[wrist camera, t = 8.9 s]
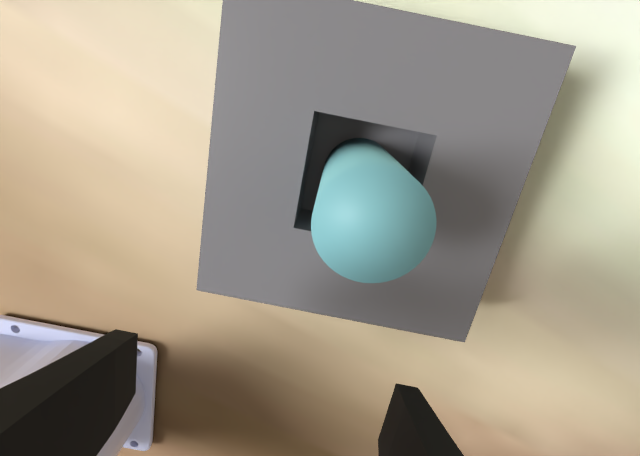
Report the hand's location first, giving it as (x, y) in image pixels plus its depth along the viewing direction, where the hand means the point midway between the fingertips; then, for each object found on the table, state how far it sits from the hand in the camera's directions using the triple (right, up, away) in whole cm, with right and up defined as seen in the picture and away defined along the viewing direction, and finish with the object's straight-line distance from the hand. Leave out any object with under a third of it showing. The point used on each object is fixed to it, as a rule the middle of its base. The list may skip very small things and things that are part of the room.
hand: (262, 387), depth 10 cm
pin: (+3, +7, +7) cm, 10 cm away
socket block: (+3, +7, +7) cm, 11 cm away
